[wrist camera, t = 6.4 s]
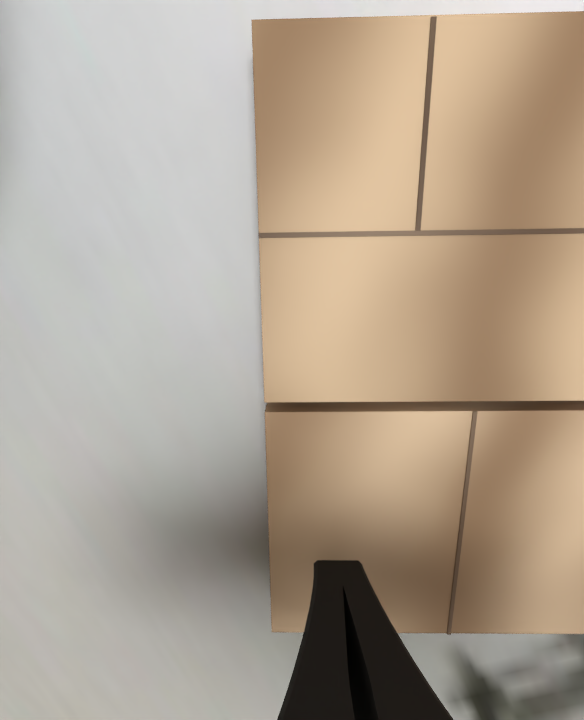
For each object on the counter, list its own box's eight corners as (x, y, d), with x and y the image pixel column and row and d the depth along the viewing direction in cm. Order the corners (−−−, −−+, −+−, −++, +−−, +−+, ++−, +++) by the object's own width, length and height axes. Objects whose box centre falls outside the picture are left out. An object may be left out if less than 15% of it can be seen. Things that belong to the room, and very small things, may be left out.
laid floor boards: (816, 43, 8) (906, 1, 7) (711, 385, 10) (767, 399, 9) (258, 56, 8) (251, 18, 7) (268, 389, 10) (264, 403, 9)
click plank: (708, 395, 10) (763, 409, 9) (651, 600, 12) (689, 635, 11) (268, 398, 11) (264, 412, 9) (274, 599, 12) (271, 633, 11)
